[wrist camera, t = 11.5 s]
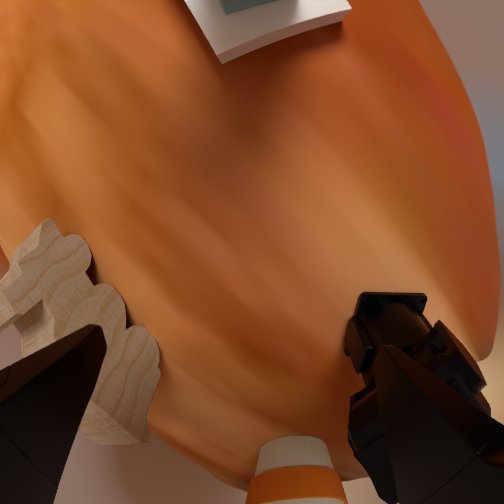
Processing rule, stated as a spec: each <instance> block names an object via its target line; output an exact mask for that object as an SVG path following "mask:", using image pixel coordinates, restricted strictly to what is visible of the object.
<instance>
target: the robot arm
mask: <svg viewBox="0 0 504 504" xmlns="http://www.w3.org/2000/svg"><path fill="white" fill-rule="evenodd" d="M365 297H368V298H367V299H366V300H364V298H365ZM422 298H423V299H422ZM421 299H422V300H421ZM420 300H421V301H420ZM426 302H427V296H426V295H425V294H424V293H390V292H363V293H362V294H361V295H360V297H359V300H358V304H357V308H356V312H355V315H354V316H353V317H352V318H351V321H350V325H349V328H348V332H347V335H346V339H345V342H346V346H345V350H344V352H345V354H346V356H349V357H351V360H352V363H353V366H354V369H355V372H356V373H357V374H359V373H361V374H362V377H363V380H364V383H365V386H366V387H365V388H364V389H362V390H361V391H360V392H358V393H355V394H354V395H352V396H351V397H350V410H349V422H348V428H347V429H348V442H349V444H350V446H351V448H352V450H353V452H354V453H353V455H354V457H355V458H356V459H357V460H358V461H359V462H360V463H361V464H362V466H363V467H364V469H365V470H366V471H367V473H368V474H369V476H370V478H371V480H372V482H373V485H374V487H375V489H376V492H377V494H378V496H379V497H380V498H381V499H382V500H383V501H385V502H386V503H388V504H397V503H399V504H504V425H503V424H501V423H499V422H498V421H496V420H495V419H493V418H492V417H491V408H490V405H489V403H488V402H487V400H486V399H485V397H484V396H483V394H482V392H481V390H482V389H483V388H484V387H485V386H486V385H487V384H486V381H485V379H484V377H483V375H482V372H481V370H480V368H479V366H478V364H477V363H476V361H475V360H474V359H473V357H472V356H471V355H470V353H469V352H468V351H467V349H466V348H465V347H464V345H463V344H462V343H461V342H460V341H459V340H458V339H457V338H456V337H455V335H454V334H453V333H452V332H451V331H450V330H449V329H448V328H447V327H446V326H445V325H444V324H443V323H442V322H441V321H440V320H438V321H437V322H436V323H435V324H434V327H432V326H431V324H430V323H429V322H428V320H427V319H426V318H425V316H424V315H423V311H424V308H425V305H426ZM106 352H107V343H106V339H105V336H104V332H103V329H102V327H101V326H100V325H96V324H88V325H86V326H84V327H82V328H80V329H78V330H76V331H74V332H72V333H71V334H69V335H67V336H65V337H63V338H61V339H59V340H57V341H55V342H53V343H51V344H49V345H48V346H46V347H44V348H42V349H40V350H38V351H36V352H34V353H32V354H30V355H28V356H27V357H25V358H23V359H21V360H19V361H18V362H16V363H14V364H12V365H11V366H10V365H9V366H8V367H6V368H4V369H2V370H0V504H53V503H54V499H55V496H56V493H57V489H58V486H59V482H60V479H61V476H62V473H63V470H64V467H65V464H66V461H67V458H68V455H69V453H70V450H71V447H72V444H73V442H74V439H75V436H76V433H77V431H78V428H79V426H80V423H81V421H82V418H83V416H84V413H85V411H86V408H87V406H88V403H89V401H90V399H91V396H92V394H93V391H94V389H95V386H96V383H97V380H98V377H99V374H100V370H101V367H102V364H103V361H104V358H105V355H106Z"/></svg>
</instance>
